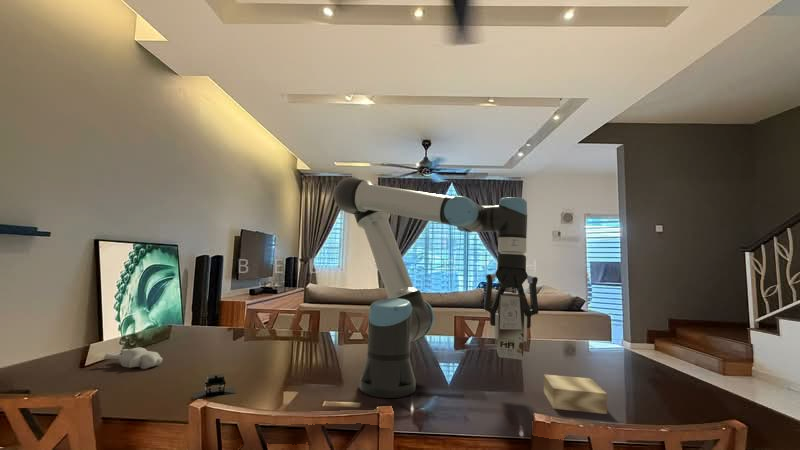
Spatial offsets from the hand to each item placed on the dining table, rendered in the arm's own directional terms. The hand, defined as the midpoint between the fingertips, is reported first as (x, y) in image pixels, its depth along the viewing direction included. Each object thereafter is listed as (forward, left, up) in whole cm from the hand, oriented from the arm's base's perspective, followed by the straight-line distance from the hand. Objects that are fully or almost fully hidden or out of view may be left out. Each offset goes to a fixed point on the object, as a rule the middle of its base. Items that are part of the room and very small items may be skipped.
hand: (509, 339), depth 99 cm
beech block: (+16, -2, -15) cm, 22 cm away
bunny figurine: (-111, +4, -15) cm, 112 cm away
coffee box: (0, 0, -4) cm, 4 cm away
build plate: (-75, -12, -15) cm, 77 cm away
